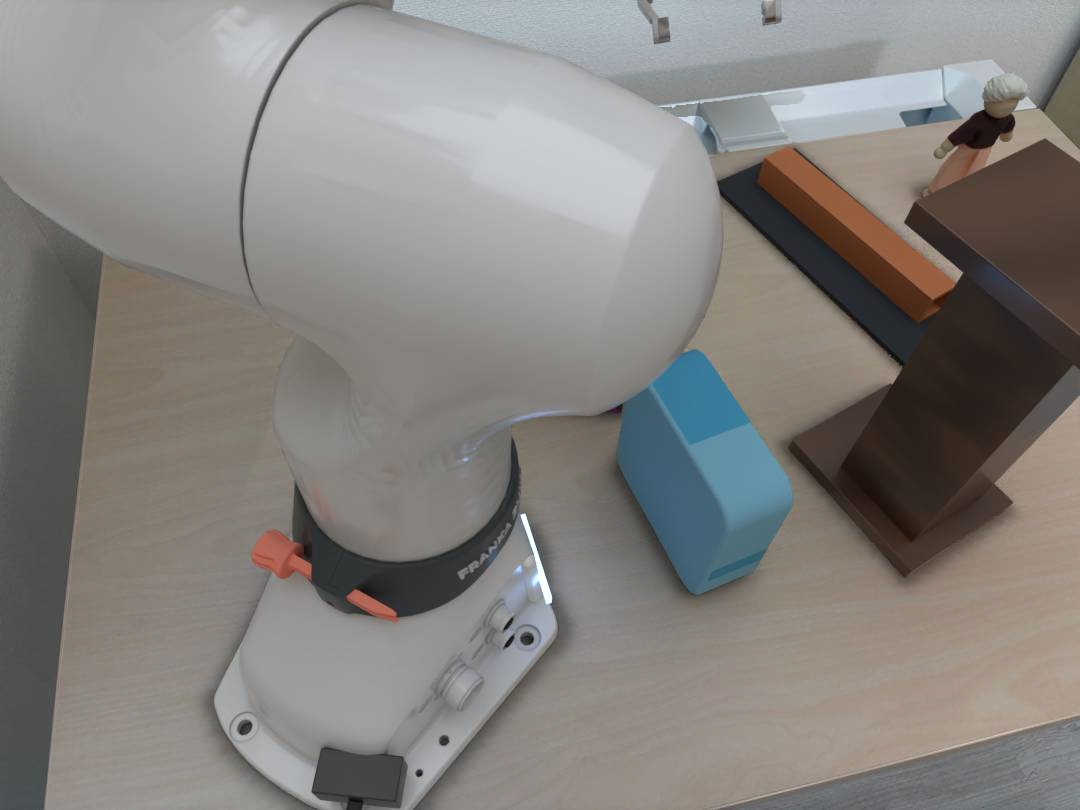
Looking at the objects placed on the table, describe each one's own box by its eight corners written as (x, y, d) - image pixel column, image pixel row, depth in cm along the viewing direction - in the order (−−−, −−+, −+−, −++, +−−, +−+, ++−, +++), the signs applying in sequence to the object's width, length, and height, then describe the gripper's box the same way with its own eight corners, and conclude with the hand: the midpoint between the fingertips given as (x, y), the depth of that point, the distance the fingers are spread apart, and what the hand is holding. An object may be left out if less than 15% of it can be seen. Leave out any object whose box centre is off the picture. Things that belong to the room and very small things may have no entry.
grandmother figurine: (934, 223, 76) (1000, 103, 66) (903, 198, 78) (964, 77, 67) (992, 195, 78) (1066, 74, 68) (962, 171, 80) (1029, 50, 70)
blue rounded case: (751, 578, 56) (801, 494, 46) (693, 603, 55) (731, 522, 45) (667, 438, 62) (695, 337, 52) (613, 459, 61) (631, 359, 51)
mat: (712, 186, 78) (713, 182, 78) (793, 151, 81) (795, 147, 81) (916, 380, 66) (919, 376, 66) (1003, 330, 69) (1006, 326, 69)
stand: (787, 447, 62) (914, 200, 42) (885, 391, 65) (1045, 137, 45) (905, 578, 57) (1114, 363, 37) (1005, 510, 60) (1248, 278, 40)
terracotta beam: (756, 183, 78) (764, 156, 75) (780, 171, 79) (789, 145, 76) (917, 323, 69) (932, 299, 66) (942, 309, 70) (958, 284, 67)
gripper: (575, -132, 69) (595, 45, 72) (833, -185, 66) (844, 2, 68) (583, -102, 75) (600, 59, 78) (819, -150, 72) (829, 21, 74)
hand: (716, 32), depth 73 cm, fingers open, 8 cm apart
